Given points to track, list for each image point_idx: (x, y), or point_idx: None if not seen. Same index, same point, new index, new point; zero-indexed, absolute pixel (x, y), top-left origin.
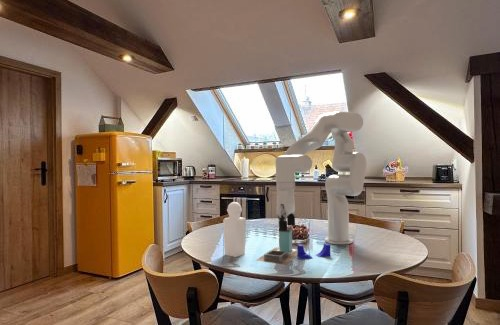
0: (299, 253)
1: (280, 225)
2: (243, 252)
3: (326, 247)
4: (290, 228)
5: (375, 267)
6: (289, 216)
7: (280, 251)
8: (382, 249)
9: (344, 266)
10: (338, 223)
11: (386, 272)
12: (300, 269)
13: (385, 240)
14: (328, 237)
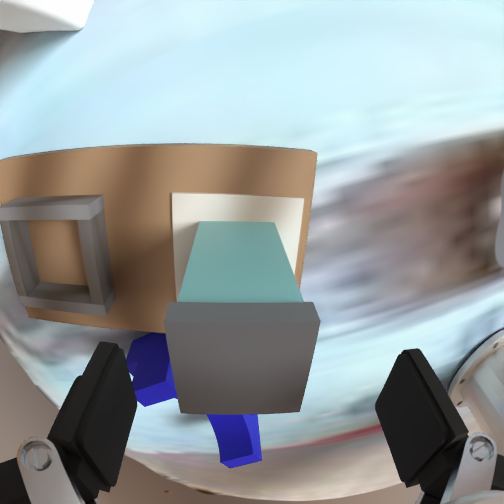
0: (137, 363)
1: (65, 402)
2: (54, 25)
3: (220, 453)
4: (254, 408)
5: (215, 477)
6: (434, 454)
7: (89, 276)
8: (392, 459)
9: (182, 443)
10: (494, 436)
11: (188, 484)
12: (63, 350)
13: (471, 433)
14: (499, 353)
